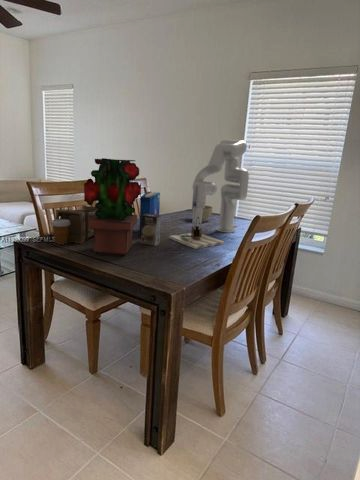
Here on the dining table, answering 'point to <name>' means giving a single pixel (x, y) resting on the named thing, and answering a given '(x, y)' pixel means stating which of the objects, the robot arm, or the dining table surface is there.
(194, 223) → the robot arm
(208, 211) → the planter bowl
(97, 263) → the dining table surface
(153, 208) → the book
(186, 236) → the dial pointer knob
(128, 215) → the potted plant
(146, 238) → the coffee box
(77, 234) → the ornamental box
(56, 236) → the disposable coffee cup
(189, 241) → the dial plate
